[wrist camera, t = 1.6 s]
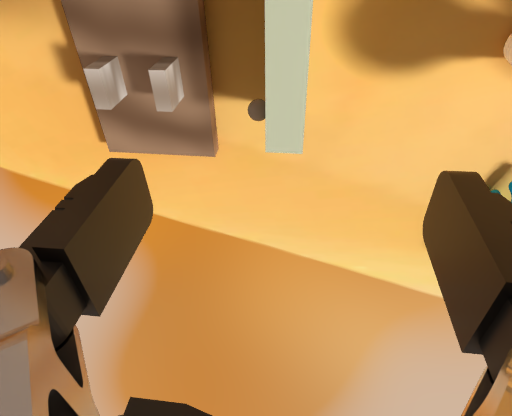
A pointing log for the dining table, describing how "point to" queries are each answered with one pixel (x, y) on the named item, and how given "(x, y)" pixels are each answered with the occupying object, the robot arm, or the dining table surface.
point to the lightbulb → (508, 49)
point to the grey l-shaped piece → (147, 73)
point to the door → (285, 74)
